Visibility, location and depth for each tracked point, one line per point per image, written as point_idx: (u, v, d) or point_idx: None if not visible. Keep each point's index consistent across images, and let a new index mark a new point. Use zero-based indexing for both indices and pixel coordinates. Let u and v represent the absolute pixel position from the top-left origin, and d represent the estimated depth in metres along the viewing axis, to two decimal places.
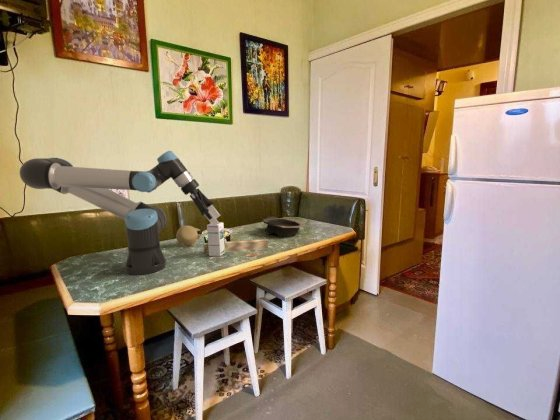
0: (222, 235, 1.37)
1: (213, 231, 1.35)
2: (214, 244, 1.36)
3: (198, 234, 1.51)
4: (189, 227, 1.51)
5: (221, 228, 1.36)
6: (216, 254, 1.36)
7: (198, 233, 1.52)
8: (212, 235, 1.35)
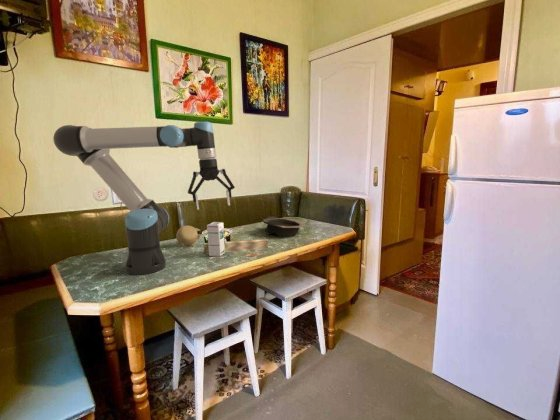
0: (222, 235, 1.37)
1: (213, 231, 1.35)
2: (214, 244, 1.36)
3: (198, 234, 1.51)
4: (189, 227, 1.51)
5: (221, 228, 1.36)
6: (216, 254, 1.36)
7: (198, 233, 1.52)
8: (212, 235, 1.35)
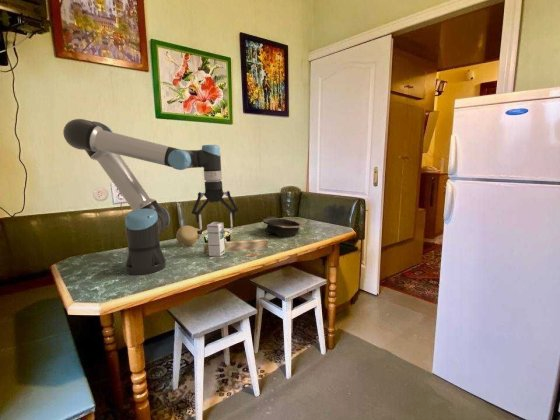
0: (222, 235, 1.37)
1: (213, 231, 1.35)
2: (214, 244, 1.36)
3: (198, 234, 1.51)
4: (189, 227, 1.51)
5: (221, 228, 1.36)
6: (216, 254, 1.36)
7: (198, 233, 1.52)
8: (212, 235, 1.35)
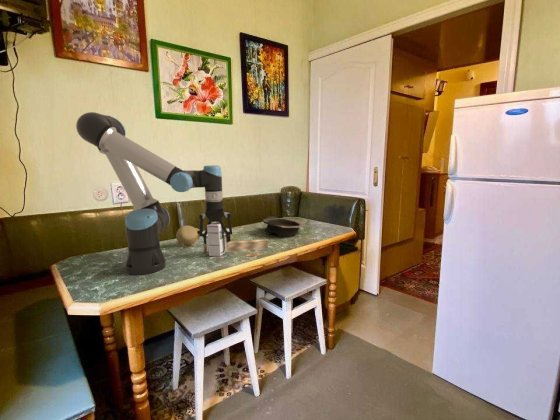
0: (222, 235, 1.37)
1: (213, 231, 1.35)
2: (214, 244, 1.36)
3: (198, 234, 1.51)
4: (189, 227, 1.51)
5: (221, 228, 1.36)
6: (216, 254, 1.36)
7: (198, 233, 1.52)
8: (212, 235, 1.35)
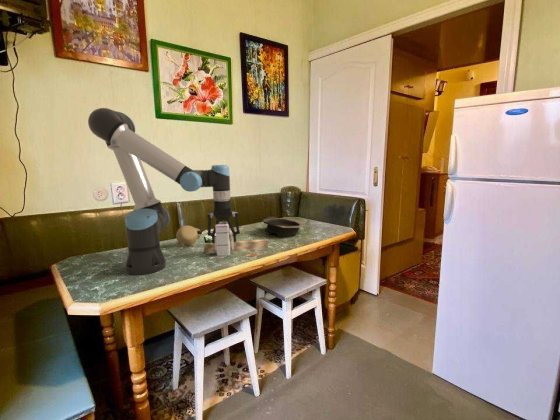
0: (229, 235, 1.39)
1: (222, 231, 1.35)
2: (223, 244, 1.36)
3: (198, 234, 1.51)
4: (189, 227, 1.51)
5: (228, 228, 1.38)
6: (225, 254, 1.37)
7: (198, 233, 1.52)
8: (221, 235, 1.35)
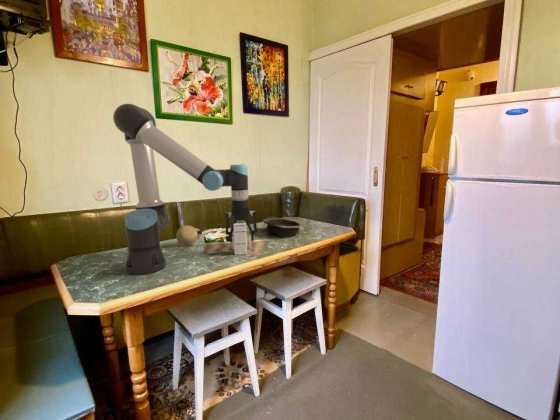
0: None
1: (240, 230, 1.37)
2: (241, 243, 1.38)
3: (198, 234, 1.51)
4: (189, 227, 1.51)
5: None
6: (242, 252, 1.39)
7: (198, 233, 1.52)
8: (239, 234, 1.37)
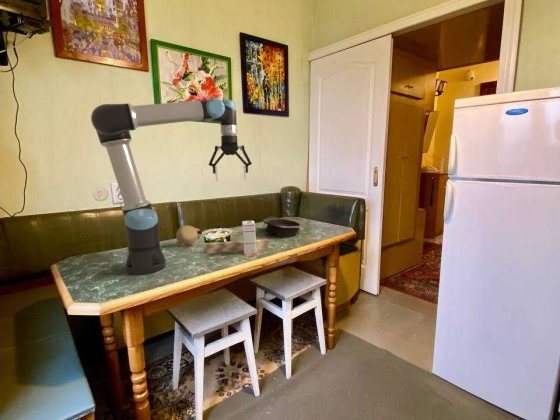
0: None
1: (249, 229, 1.37)
2: (250, 242, 1.38)
3: (198, 234, 1.51)
4: (189, 227, 1.51)
5: None
6: (252, 252, 1.39)
7: (198, 233, 1.52)
8: (248, 233, 1.37)
